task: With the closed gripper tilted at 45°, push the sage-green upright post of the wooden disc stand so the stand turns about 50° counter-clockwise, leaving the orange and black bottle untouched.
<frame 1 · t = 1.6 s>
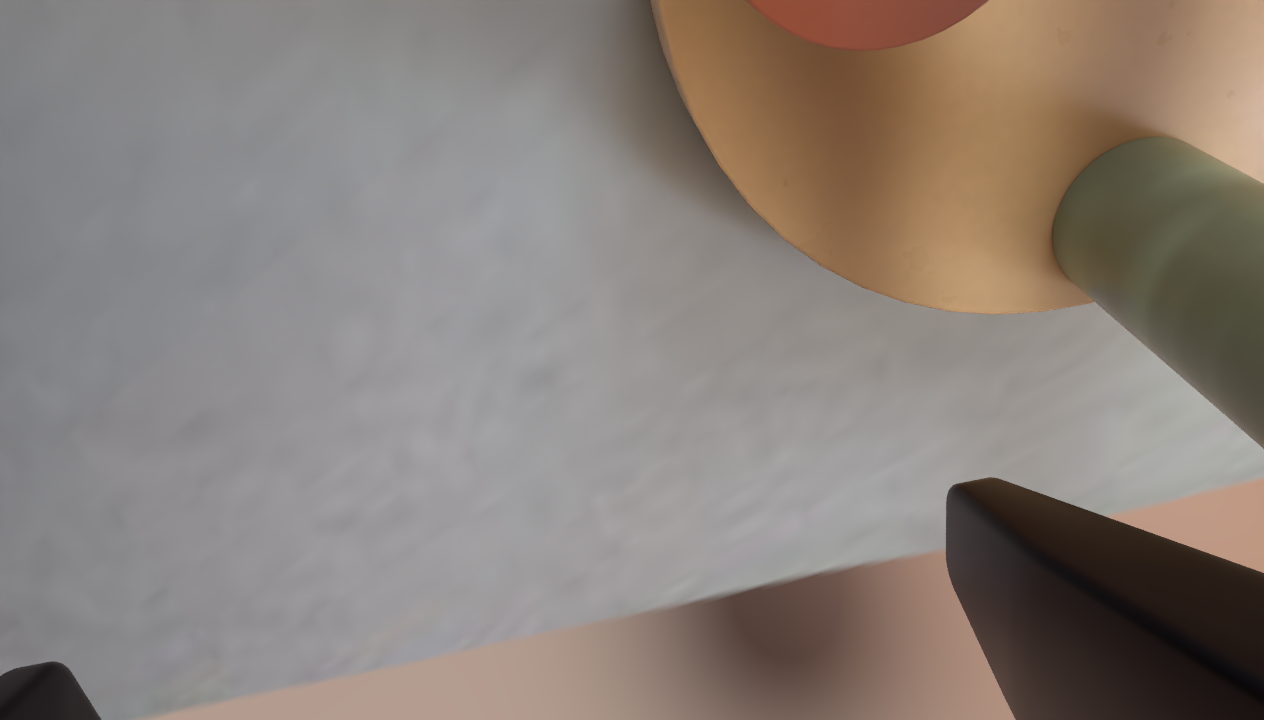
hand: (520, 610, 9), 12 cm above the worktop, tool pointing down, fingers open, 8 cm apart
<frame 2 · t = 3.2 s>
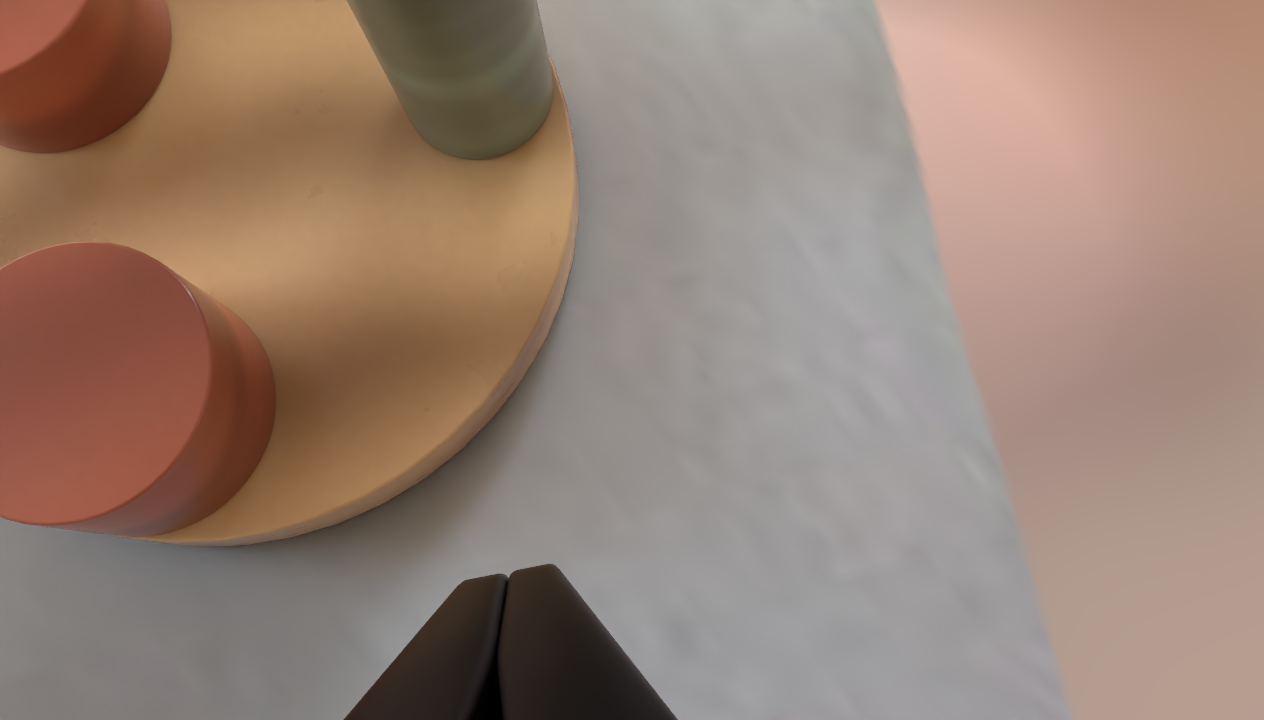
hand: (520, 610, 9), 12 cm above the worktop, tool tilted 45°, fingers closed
wooden disc stand: (40, 12, 15), point 8 cm above the worktop, hinge at 0.0°
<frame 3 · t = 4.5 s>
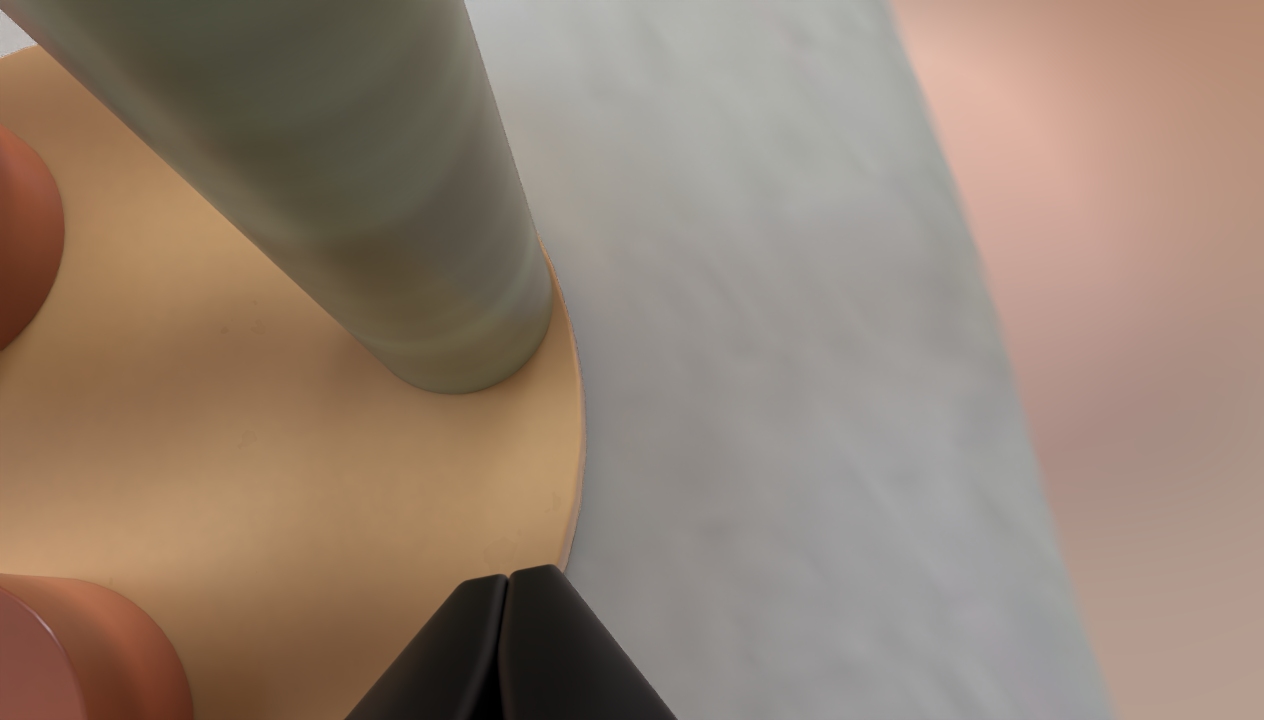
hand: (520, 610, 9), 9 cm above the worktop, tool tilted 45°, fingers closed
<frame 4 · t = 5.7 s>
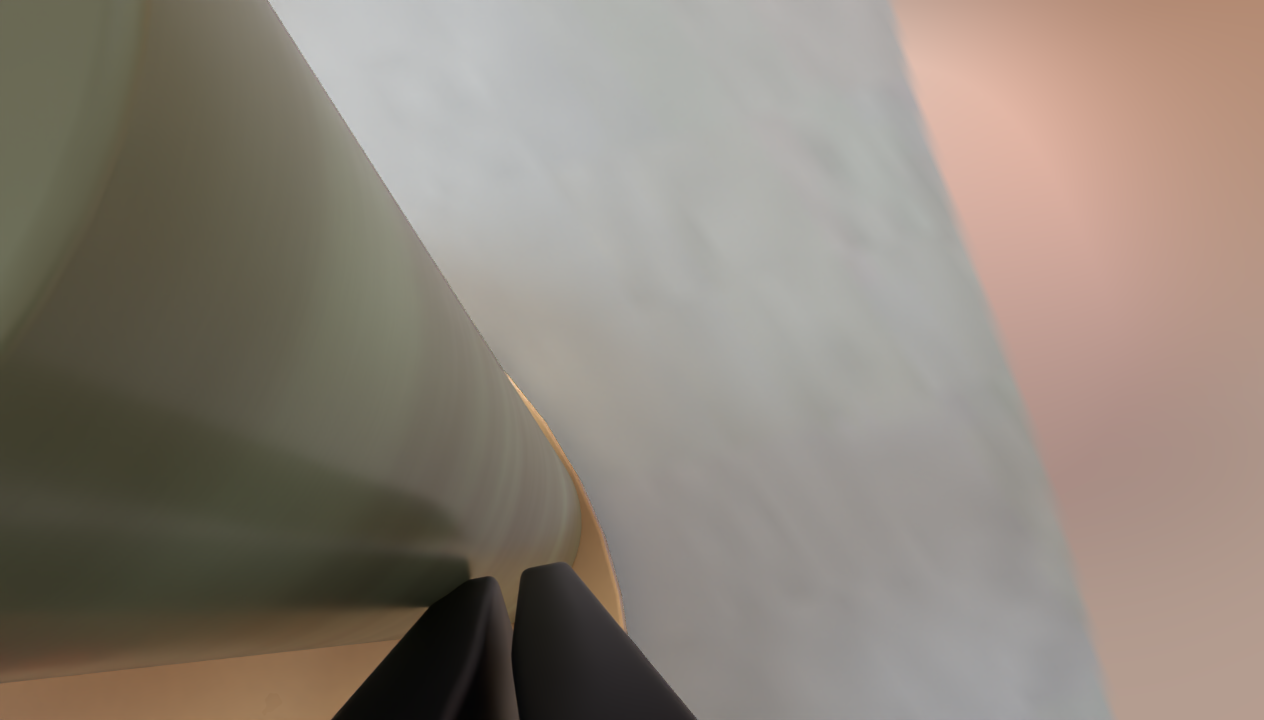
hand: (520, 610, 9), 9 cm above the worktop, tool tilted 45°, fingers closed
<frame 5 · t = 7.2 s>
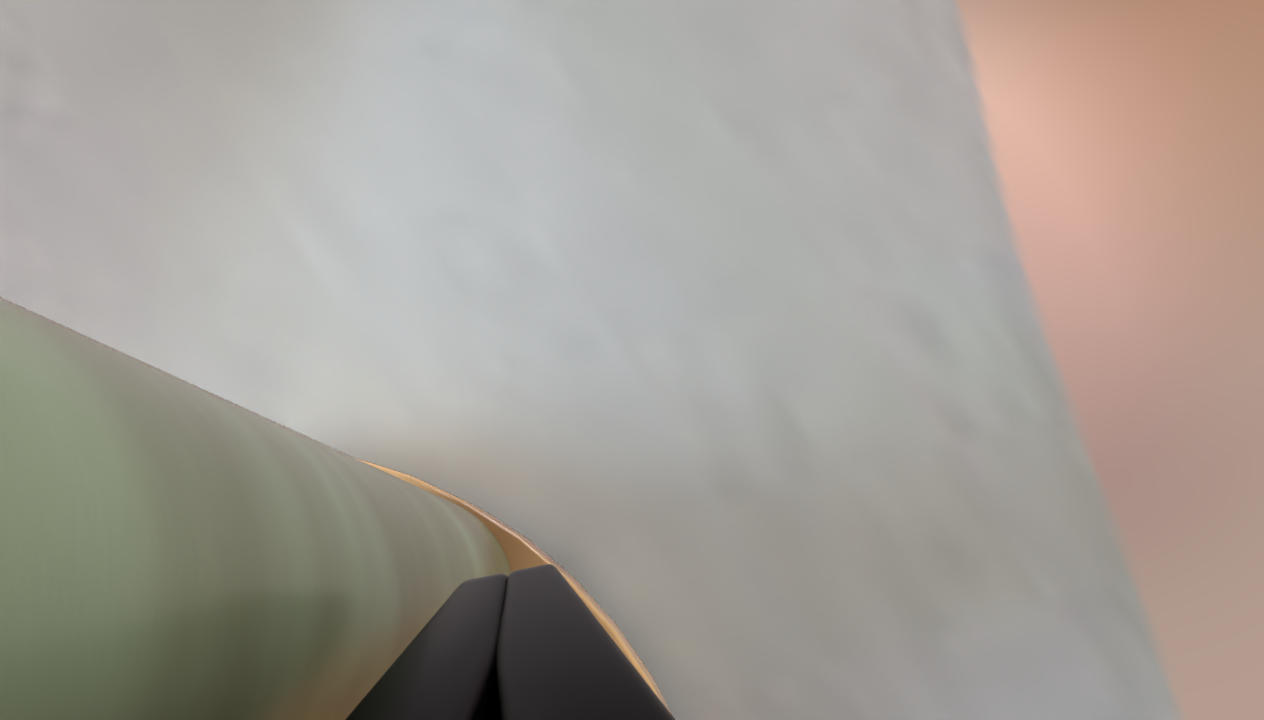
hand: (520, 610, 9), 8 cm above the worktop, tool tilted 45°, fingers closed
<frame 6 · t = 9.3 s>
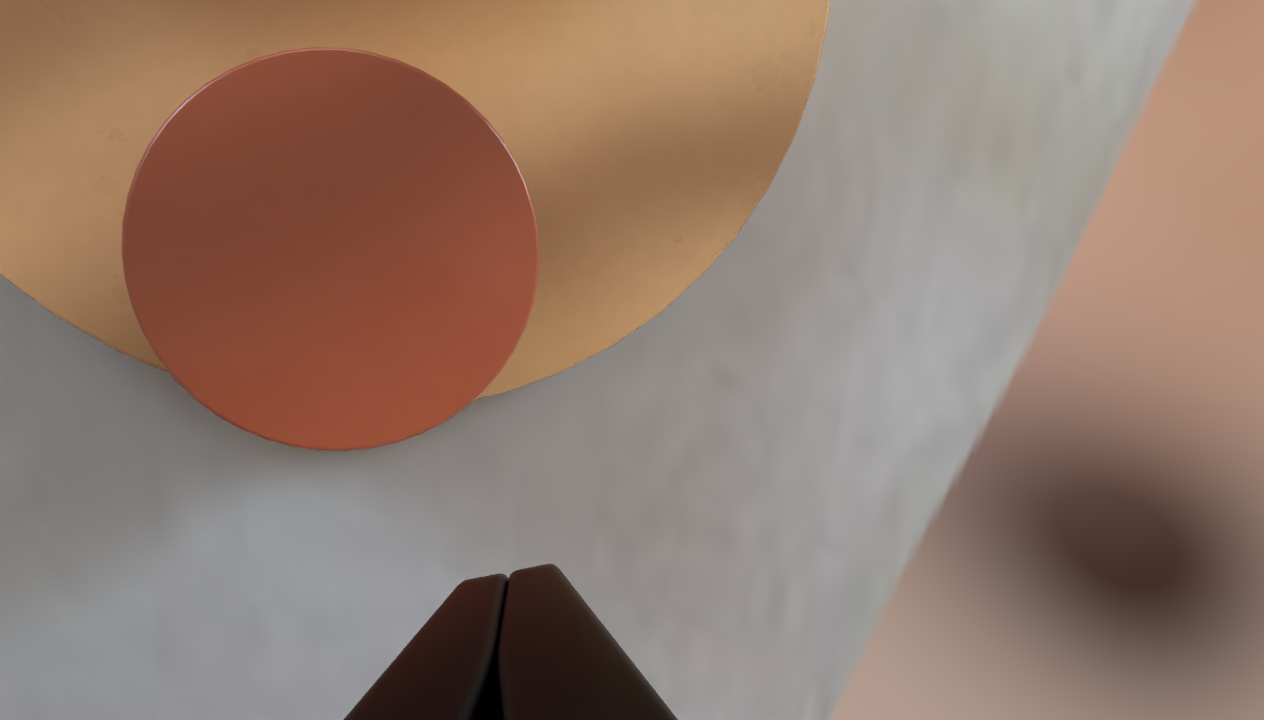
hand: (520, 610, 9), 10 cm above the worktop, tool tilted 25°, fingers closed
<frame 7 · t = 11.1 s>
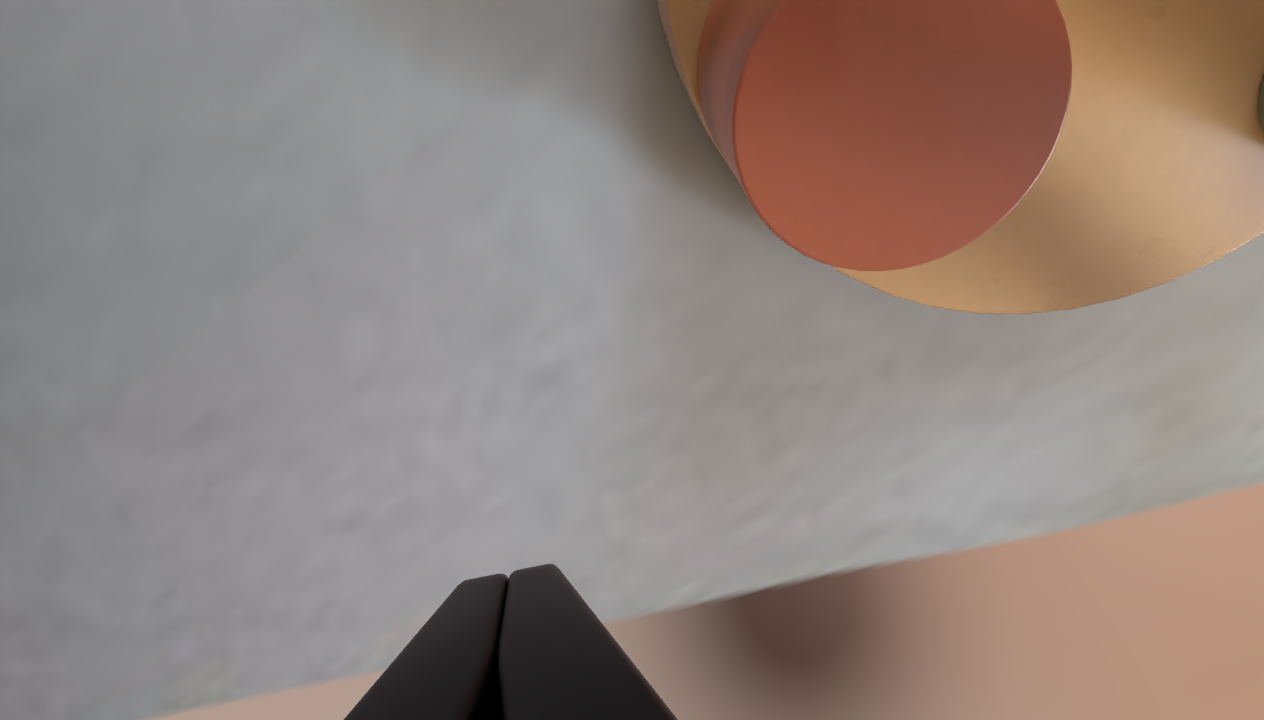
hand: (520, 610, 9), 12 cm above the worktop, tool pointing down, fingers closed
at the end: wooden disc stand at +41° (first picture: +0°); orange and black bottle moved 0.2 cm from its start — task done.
